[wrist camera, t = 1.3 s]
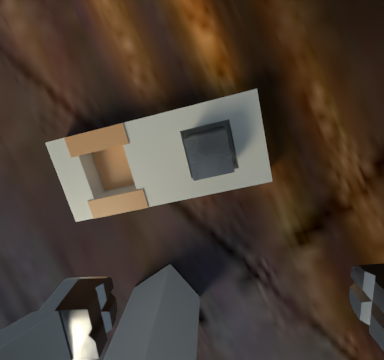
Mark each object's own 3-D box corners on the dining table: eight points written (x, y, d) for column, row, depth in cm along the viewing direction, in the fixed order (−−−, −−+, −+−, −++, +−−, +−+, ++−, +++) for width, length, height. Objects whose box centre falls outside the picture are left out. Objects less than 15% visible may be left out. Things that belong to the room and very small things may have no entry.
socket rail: (250, 91, 29) (257, 88, 25) (264, 172, 32) (272, 181, 28) (64, 138, 32) (44, 143, 28) (90, 209, 35) (75, 222, 31)
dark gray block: (222, 125, 29) (226, 130, 23) (229, 158, 30) (234, 172, 24) (189, 133, 30) (183, 140, 23) (197, 165, 31) (193, 180, 24)
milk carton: (170, 262, 36) (128, 418, 18) (200, 296, 37) (190, 474, 19) (134, 286, 38) (62, 452, 19) (164, 318, 39) (123, 502, 21)
